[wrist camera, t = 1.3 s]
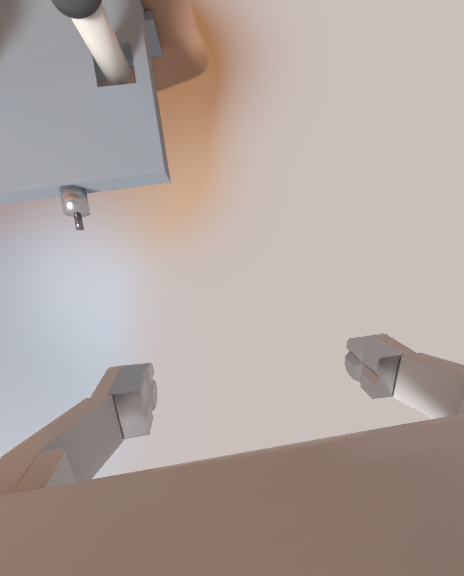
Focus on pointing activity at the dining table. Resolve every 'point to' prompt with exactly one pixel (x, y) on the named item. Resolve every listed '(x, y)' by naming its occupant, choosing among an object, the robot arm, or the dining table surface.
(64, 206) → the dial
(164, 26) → the dining table surface
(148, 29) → the mount
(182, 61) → the dining table surface
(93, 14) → the knob
